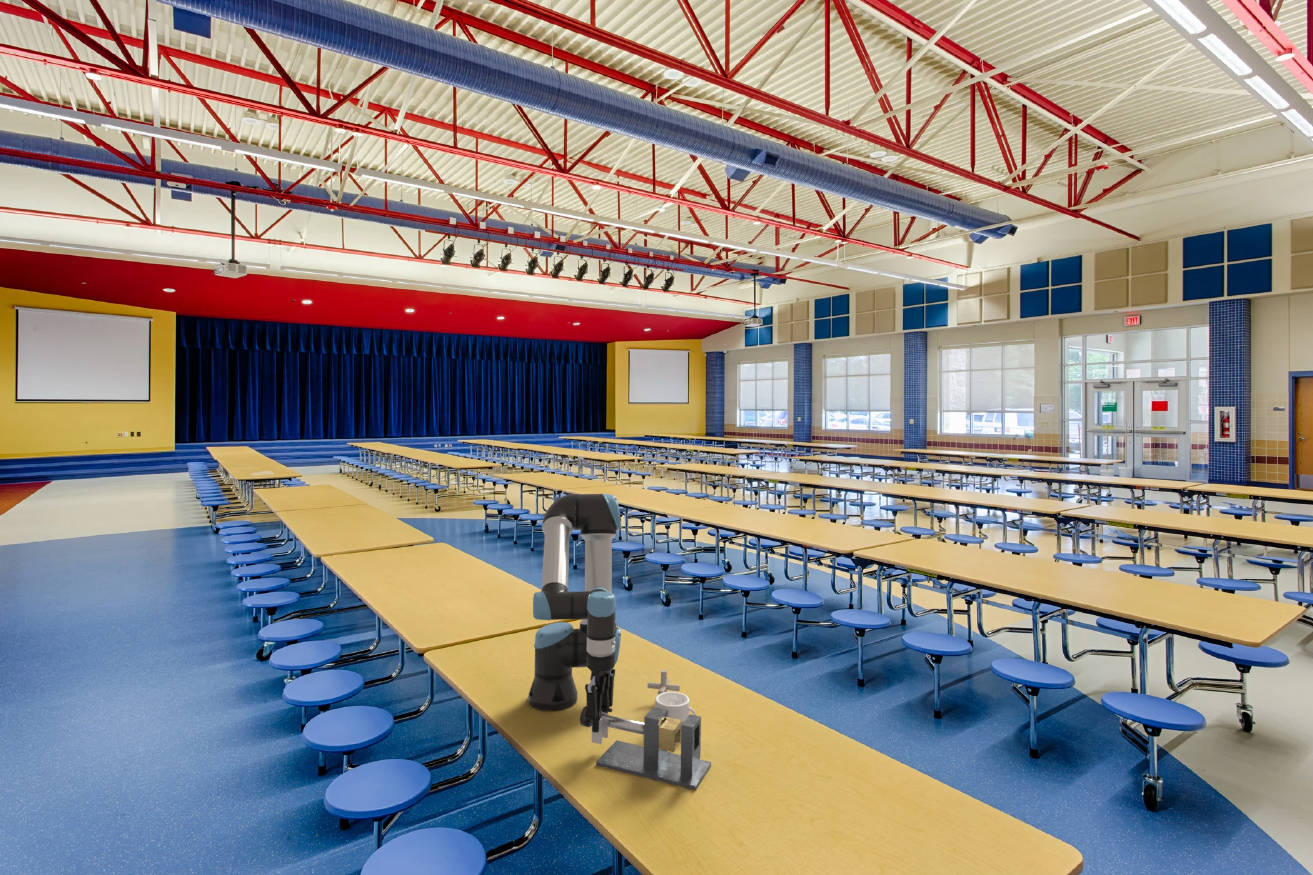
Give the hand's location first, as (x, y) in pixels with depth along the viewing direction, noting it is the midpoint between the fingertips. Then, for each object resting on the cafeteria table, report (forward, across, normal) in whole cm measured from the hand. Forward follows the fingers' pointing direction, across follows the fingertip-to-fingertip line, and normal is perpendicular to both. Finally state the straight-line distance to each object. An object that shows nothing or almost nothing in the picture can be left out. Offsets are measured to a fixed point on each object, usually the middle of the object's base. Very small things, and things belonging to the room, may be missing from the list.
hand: (599, 739), depth 174 cm
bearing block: (+4, 0, -16) cm, 16 cm away
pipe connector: (+4, +35, -4) cm, 35 cm away
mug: (+4, +20, -14) cm, 25 cm away
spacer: (-3, 0, -20) cm, 20 cm away
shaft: (-3, 0, -7) cm, 7 cm away
